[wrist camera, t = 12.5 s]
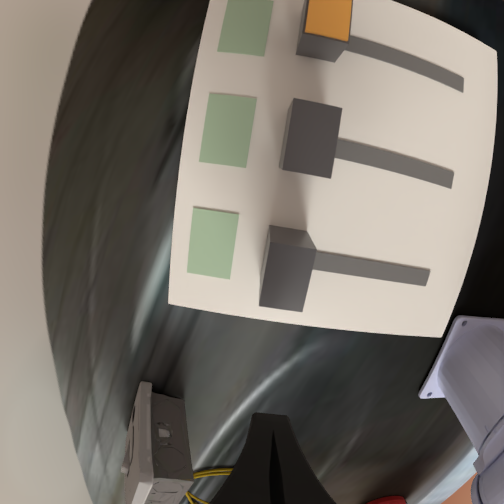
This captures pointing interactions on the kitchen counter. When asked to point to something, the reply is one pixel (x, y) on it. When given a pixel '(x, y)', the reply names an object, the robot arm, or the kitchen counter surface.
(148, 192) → the kitchen counter surface
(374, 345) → the kitchen counter surface
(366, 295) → the breaker panel
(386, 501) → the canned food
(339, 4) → the handle
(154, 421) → the electrical switch
